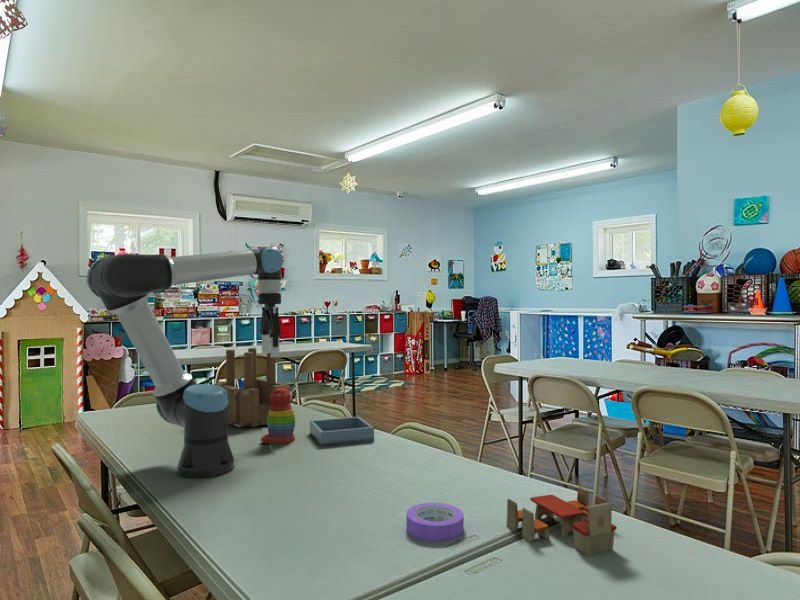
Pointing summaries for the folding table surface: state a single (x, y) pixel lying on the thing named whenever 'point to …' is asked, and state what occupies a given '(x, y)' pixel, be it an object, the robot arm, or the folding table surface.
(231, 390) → the wooden toy structure
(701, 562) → the folding table surface
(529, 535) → the dollhouse furniture set
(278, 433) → the stacking bear
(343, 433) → the tray
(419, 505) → the masking tape
